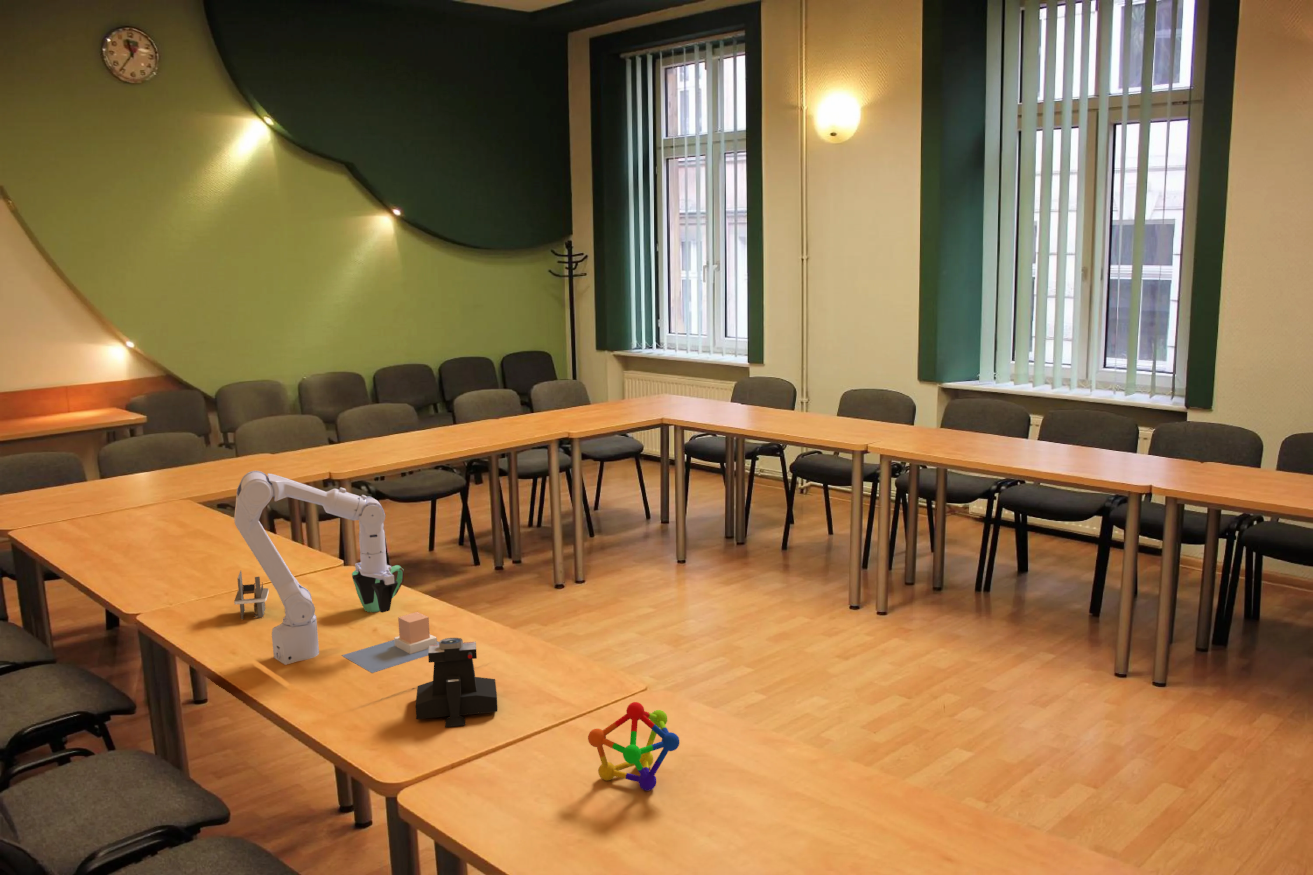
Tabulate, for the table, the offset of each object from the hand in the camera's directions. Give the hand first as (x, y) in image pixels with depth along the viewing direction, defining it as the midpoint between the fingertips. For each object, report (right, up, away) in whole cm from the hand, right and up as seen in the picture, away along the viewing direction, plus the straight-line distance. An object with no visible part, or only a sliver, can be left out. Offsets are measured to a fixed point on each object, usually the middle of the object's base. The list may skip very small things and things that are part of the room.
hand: (376, 607), depth 252 cm
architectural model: (-38, -6, +24) cm, 45 cm away
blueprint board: (+6, -10, -4) cm, 12 cm away
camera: (+25, -16, -33) cm, 44 cm away
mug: (-6, -4, +28) cm, 29 cm away
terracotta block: (+9, -7, -1) cm, 11 cm away
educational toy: (+62, -21, -62) cm, 91 cm away
